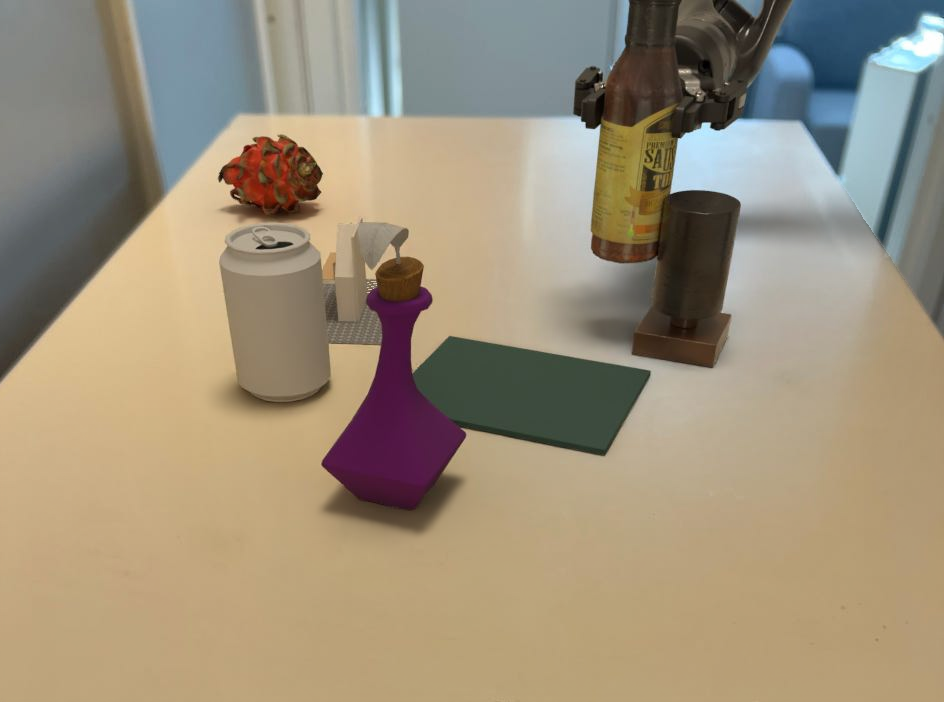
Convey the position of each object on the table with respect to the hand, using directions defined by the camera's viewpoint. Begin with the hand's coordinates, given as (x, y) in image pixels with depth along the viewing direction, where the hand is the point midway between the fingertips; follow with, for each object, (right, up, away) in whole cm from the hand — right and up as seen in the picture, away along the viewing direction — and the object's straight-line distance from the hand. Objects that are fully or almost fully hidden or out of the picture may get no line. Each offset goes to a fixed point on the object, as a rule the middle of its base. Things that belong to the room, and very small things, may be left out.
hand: (633, 119), depth 76 cm
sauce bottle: (+1, -7, +9) cm, 11 cm away
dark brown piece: (+6, -14, +11) cm, 19 cm away
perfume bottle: (-18, -30, -8) cm, 35 cm away
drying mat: (-9, -20, +4) cm, 22 cm away
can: (-28, -19, +4) cm, 34 cm away
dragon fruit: (-35, +9, +38) cm, 52 cm away
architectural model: (-23, -9, +16) cm, 30 cm away
